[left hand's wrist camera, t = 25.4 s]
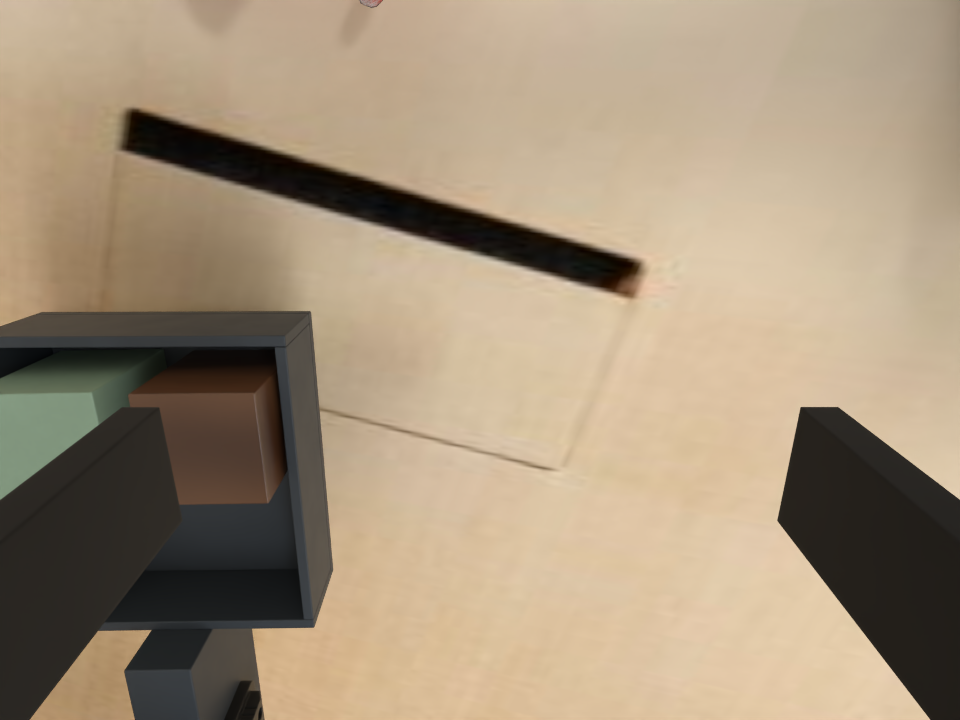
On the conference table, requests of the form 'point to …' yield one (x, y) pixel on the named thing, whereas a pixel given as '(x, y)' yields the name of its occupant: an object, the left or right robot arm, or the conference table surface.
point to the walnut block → (221, 425)
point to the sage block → (64, 404)
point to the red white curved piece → (371, 3)
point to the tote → (213, 515)
